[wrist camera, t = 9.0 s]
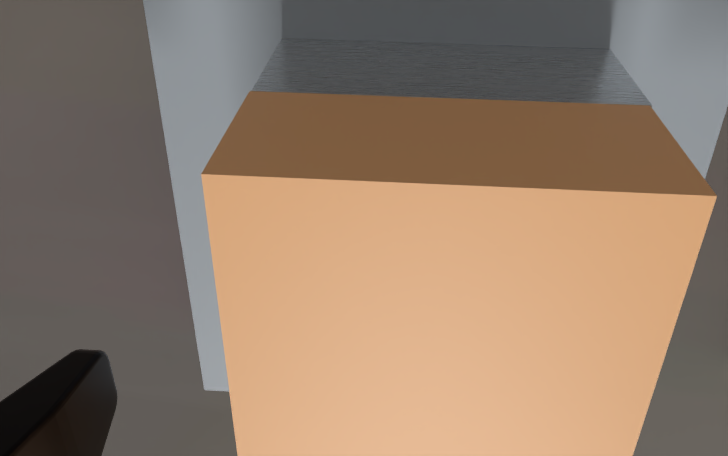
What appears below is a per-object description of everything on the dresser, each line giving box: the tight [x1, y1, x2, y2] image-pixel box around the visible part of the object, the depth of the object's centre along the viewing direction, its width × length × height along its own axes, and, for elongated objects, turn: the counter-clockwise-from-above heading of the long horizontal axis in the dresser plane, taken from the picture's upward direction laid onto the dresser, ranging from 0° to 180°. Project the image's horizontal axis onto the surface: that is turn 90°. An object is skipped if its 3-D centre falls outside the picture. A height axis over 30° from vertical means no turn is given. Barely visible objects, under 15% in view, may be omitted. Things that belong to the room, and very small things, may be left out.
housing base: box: [252, 38, 652, 107], centre depth 12 cm, size 7×6×2 cm
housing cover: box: [201, 91, 717, 456], centre depth 10 cm, size 7×6×2 cm
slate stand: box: [143, 0, 728, 391], centre depth 14 cm, size 10×10×2 cm
